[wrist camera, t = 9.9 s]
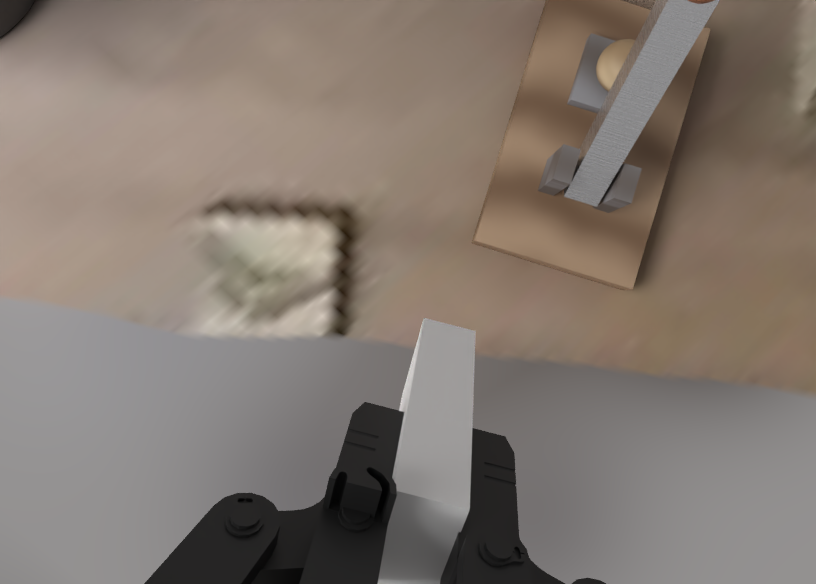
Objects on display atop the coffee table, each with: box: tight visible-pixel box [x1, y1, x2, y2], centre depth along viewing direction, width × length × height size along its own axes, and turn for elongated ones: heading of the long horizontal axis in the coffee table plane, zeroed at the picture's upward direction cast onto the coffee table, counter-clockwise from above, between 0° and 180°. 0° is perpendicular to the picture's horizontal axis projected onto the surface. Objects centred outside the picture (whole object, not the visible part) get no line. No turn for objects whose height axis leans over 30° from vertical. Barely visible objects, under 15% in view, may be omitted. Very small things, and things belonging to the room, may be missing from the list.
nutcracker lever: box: [564, 0, 720, 207], centre depth 37 cm, size 4×4×17 cm
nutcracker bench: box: [472, 0, 711, 290], centre depth 44 cm, size 20×12×7 cm, turn 163°
